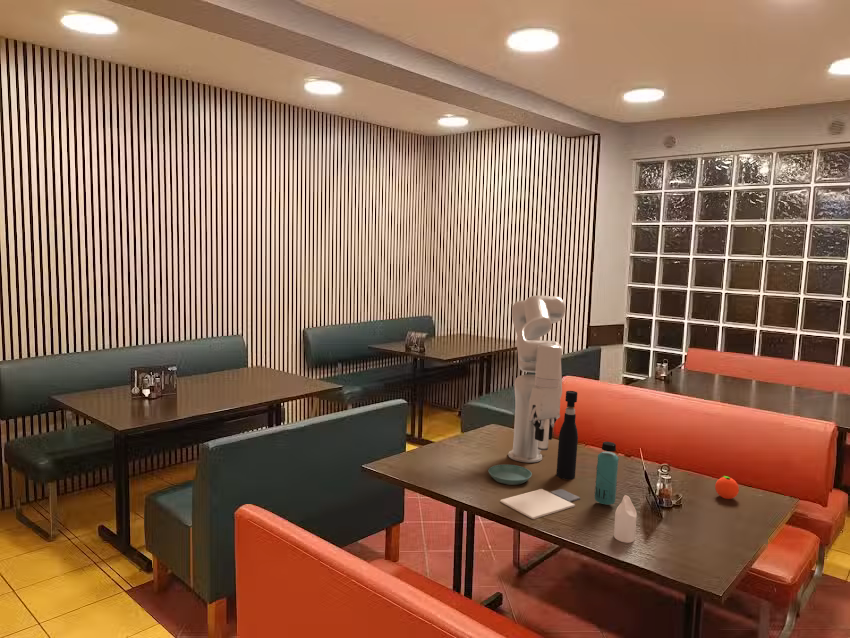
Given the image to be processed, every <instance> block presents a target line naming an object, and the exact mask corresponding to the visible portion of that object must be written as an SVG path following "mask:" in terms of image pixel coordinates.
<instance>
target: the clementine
mask: <svg viewBox="0 0 850 638" xmlns="http://www.w3.org/2000/svg"><path fill="white" fill-rule="evenodd" d="M714 487H715V492H716V493H717V495H718V496H719V497H721V498H722V499H725V500H731V499H734V498H736V497H737V496H738V494H739V492H740V491H739V489H740V486H739V483H738V482H737V481H736V480H735V479H733V478H732V477H730V476H726V475H722V476H721V477H720V478H719V479H717V480H716V482H715V486H714Z"/></svg>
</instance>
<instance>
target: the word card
mask: <svg viewBox="0 0 850 638" xmlns="http://www.w3.org/2000/svg"><path fill="white" fill-rule="evenodd" d="M550 493H552V494H554V495H556V496H558V497H560V498H562V499H564V500H566V501H568V502H571V503H572V502H574V501H578V500H581V497H580V496H578V495H577V494H576V495H575V494H574V493H571V492H570V491H567V490H565V489H563V488H559V489H556V490H555V489H554V490H552V491H551V490H550Z"/></svg>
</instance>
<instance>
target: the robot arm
mask: <svg viewBox="0 0 850 638" xmlns="http://www.w3.org/2000/svg"><path fill="white" fill-rule="evenodd" d="M565 313H566V305H565V302H564V300H563V299H562V298H561V297H560V296H554V295H550V296H549V295H532V296H529V297H527V299H524V300H517V301H516V302H514V303H513V305H512V308H511V318H512V324H513V326H514V329H515V333H516V335H517V336H516V349H517V365H518V368H519V369H520V371H522V372H525V373H535V374H522V375H518V376H517V377H516V378H515V380H514V385H513V386H514V400H515V401H514V402H515V403H514V404H515V408H514V409H515V410H514V429H513V444H512V449H511V450H510V451H509V452H508V453H507V455H508V458H510V459H511V460H513V461H516V462H520V463H530V464H531V463H538V462H540V461H542V460H543V455H542V453H541V452H542V450H539V449H538V441H543V439H544V429H542V428H543V423H544V419H550V424H549V439H548V441H551V440H552V439H553V428H555V423H556V421H558V420H559V418H561V413H560V412H561V398H562V395H563V380H562V378H563V377H562V375H563V374H562V356H563V348H562V346H561V344H560V343H559V342H558V341H555V340H541V337H543V336H545V335H547V334H549V332H550V331H551V329H552V326H553V325H552V324H556V323H559V322H560V321H561V320H562V319H564V316H565ZM539 421H540V423H539Z"/></svg>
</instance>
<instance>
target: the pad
mask: <svg viewBox="0 0 850 638" xmlns="http://www.w3.org/2000/svg"><path fill="white" fill-rule="evenodd" d="M499 503H501V504H504V505H505V506H507V507H509V508H511V509H513V510H514V511H517V512H518V513H520V514H522V515H524V516H526V517H527V518H529V519H532V520H536V519H539V518H541V517H545V516H548V515H551V514H555V513H557V512H561V511H564V510H567V509H571V508H574V507H576V504H575V503H572V502H568V501H566V500H564V499H562V498H560V497H558V496H556V495H554V494H552V493H551V492H550V491H548V490H545V489H543V488H539V489H536V490H532V491H529V492H525V493H521V494H517V495H513V496H510V497H506V498H502V499H500V501H499Z"/></svg>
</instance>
